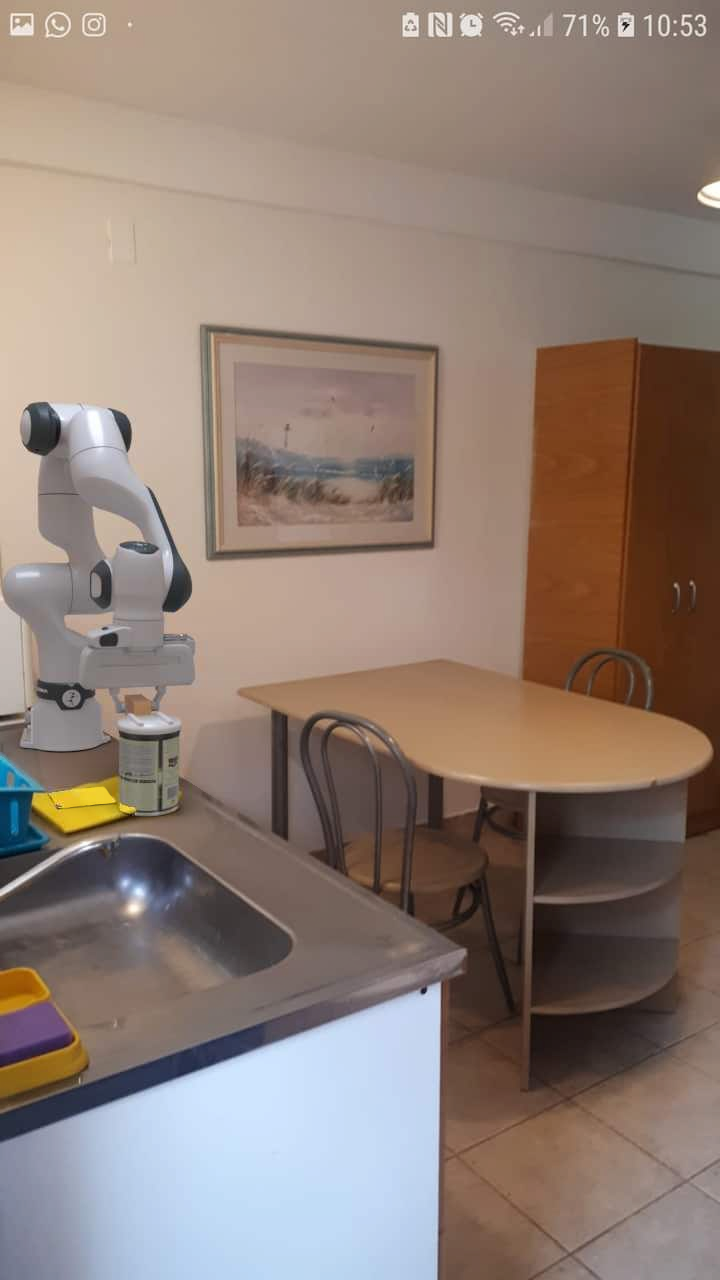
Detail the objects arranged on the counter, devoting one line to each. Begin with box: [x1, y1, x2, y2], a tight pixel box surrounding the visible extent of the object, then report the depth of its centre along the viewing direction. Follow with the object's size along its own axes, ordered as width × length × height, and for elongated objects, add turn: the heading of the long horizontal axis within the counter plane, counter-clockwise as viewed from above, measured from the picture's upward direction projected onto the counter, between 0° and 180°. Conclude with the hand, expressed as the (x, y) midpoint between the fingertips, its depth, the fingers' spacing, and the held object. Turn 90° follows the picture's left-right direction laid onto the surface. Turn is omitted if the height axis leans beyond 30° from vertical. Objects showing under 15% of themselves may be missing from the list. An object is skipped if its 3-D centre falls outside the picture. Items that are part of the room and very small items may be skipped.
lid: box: [117, 693, 183, 735], centre depth 164 cm, size 17×11×4 cm, turn 27°
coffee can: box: [118, 729, 181, 817], centre depth 162 cm, size 10×10×14 cm
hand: (137, 711), depth 169 cm, fingers open, 5 cm apart
